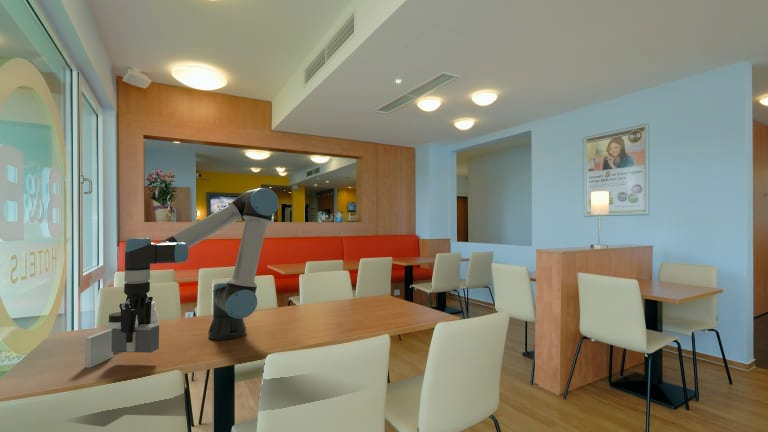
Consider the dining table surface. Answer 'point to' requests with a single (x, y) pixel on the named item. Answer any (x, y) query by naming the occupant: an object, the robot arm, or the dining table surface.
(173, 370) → the dining table surface
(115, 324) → the jar
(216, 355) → the dining table surface
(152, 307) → the honey pot
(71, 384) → the dining table surface
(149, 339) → the grey rectangular block
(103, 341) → the tile
